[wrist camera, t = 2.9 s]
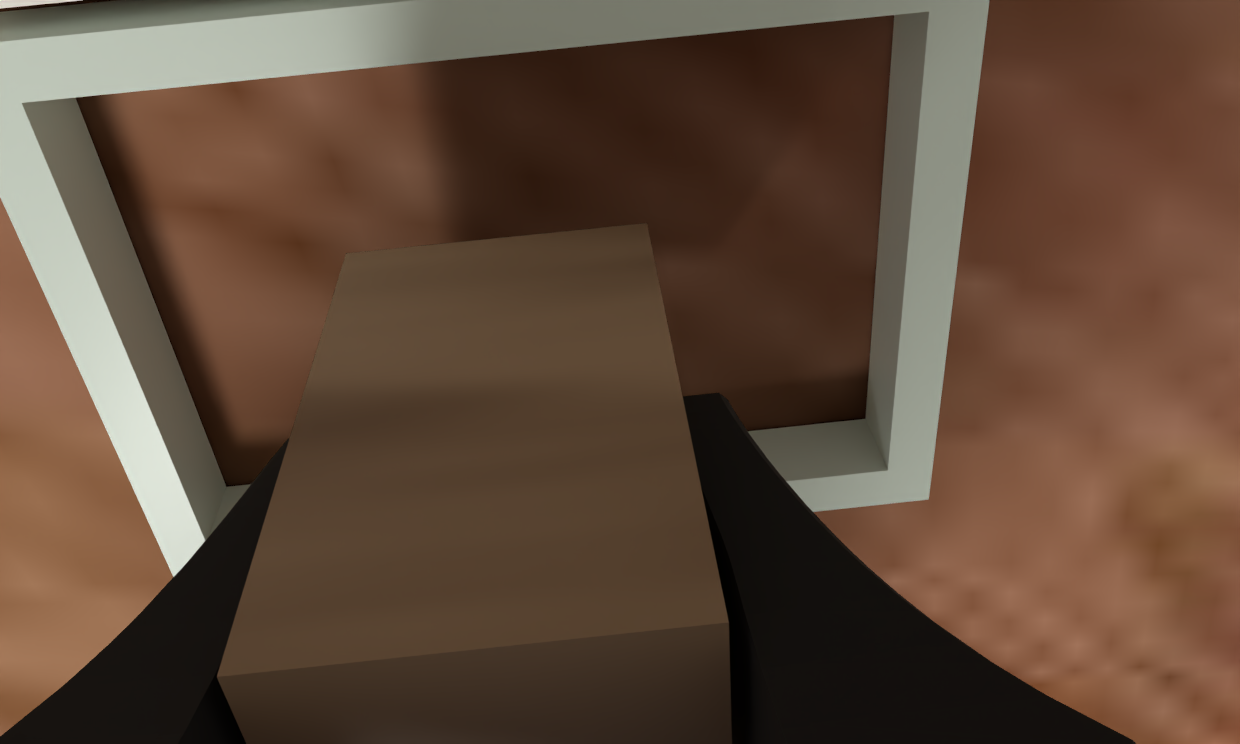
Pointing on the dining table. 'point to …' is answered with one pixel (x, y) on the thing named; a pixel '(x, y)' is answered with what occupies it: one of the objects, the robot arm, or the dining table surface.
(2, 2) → the tray
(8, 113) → the pale green rectangular frame
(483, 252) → the block
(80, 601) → the dining table surface
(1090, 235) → the dining table surface
